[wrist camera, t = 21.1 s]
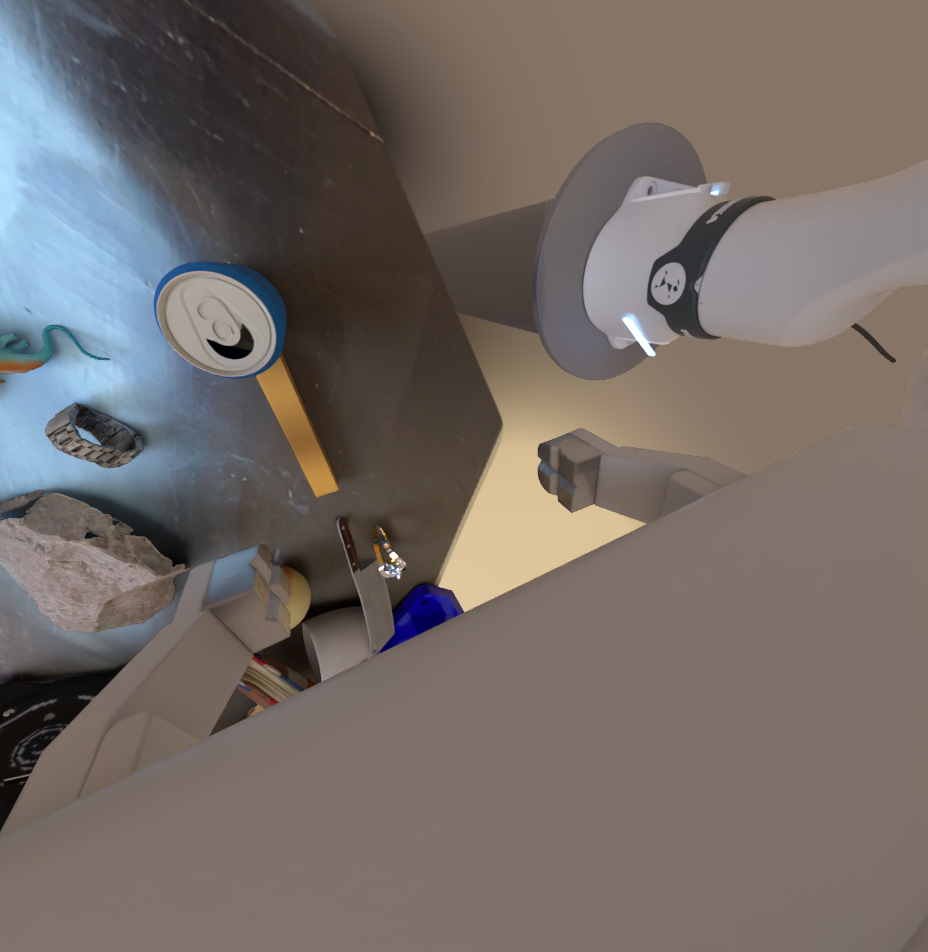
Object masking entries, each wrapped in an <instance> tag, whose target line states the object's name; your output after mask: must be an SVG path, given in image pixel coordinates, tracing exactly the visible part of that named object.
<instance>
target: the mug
mask: <svg viewBox="0 0 928 952" xmlns="http://www.w3.org/2000/svg"><path fill="white" fill-rule="evenodd" d="M302 631H303V638H304V643H305V647H306V651H307V655H308V659H309V662H310V665H311V668H312V671H313V674H314V676H315V679H316V681H317V683H320V682H322V681H324V680H326V679H328V678H331V677H333V676H335V675H337V674H339V673H341V672H343V671H345V670H347V669H349V668H351V667H353V666H355V665H357V664H359V663H361V662H362V661H363V660H364V659H365V660H364V661H366V660H368V659H370V658H372V656H371V655H370V652H369V650H370V641H369V635H368V630H367V625H366V620H365V616H364V611H363V607H362V606H354V607H346V608H341V609H336V610H333V611H329V612H326V613H323V614H320V615H318V616H315V617H312V618H310V619H308V620H306V621H304V622H303V624H302ZM374 649H375V646H374V648H373V650H374Z"/></svg>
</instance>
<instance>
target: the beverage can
mask: <svg viewBox="0 0 928 952" xmlns="http://www.w3.org/2000/svg"><path fill="white" fill-rule="evenodd" d="M154 312H155V318H156V321H157V324H158V327H159V329H160V331H161V333H162V335H163V336H164V338H165V339H166V341H167V342H168V343H169V345H170V346H171V347H172V348H173V349H174V350H175V351H176V353H177V354H179V355H180V356H181V357H182V358H183V359H184V360H186V361H187V362H189V363H190V364H192V365H193V366H195V367H197V368H198V369H200V370H203V371H205V372H207V373H210V374H213V375H216V376H220V377H225V378H248V377H252V376H255V375H258V374H261V373H263V372H264V371H266V370H268V369H269V368H270V367H271V366H272V365H273V364H274V363H275V362H276V361H277V359H278V358H279V356H280V354H281V352H282V349H283V346H284V340H285V332H286V324H287V313H286V308H285V305H284V302H283V300H282V298H281V296H280V294H279V293H278V291H277V290H276V288H275V287H274V286H273V285H272V284H271V283H270V282H269V281H268V280H267V279H266V278H265V277H263V276H262V275H261V274H259V273H257V272H256V271H254V270H252V269H250V268H247V267H244V266H240V265H235V264H225V263H213V262H193V263H187V264H184V265H181V266H179V267H176V268H174V269H173V270H171V271H170V272H169V273H167V274H166V275H165V276H164V278H163V279H162V280H161V282H160V283H159V285H158V287H157V290H156V292H155V298H154Z"/></svg>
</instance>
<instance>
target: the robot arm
mask: <svg viewBox="0 0 928 952" xmlns="http://www.w3.org/2000/svg"><path fill="white" fill-rule="evenodd" d="M729 188H730V183H729V182H718V183H712V184H702V185H699V186H698V187H693V186H689V185H684V184H680V183H676V182H672V181H667V180H663V179H659V178H654V177H650V176H641V177H638V178H636V179H635V180H634V182H633V183H632V185H631V186H630V188H629V190H628V192H627V194H626V196H625V198H624V201H623V203H622V205H621V206H620V208H619V209H618V210H617V211H616V213H615V214H614V215H613V216H612V217H611V218H610V219H609V220H608V221H607V223H606V224H605V225H604V227H603V228H602V230H601V231H600V233H599V234H598V236H597V238H596V240H595V242H594V244H593V246H592V249H591V251H590V254H589V257H588V260H587V264H586V268H585V273H584V281H583V298H584V305H585V309H586V312H587V314H588V317H589V319H590V320H591V322H592V323H593V324H594V326H595V327H596V328H598V329H599V330H601V331H602V332H604V333H605V334H606V335H607V337H608V340H609V342H610V344H611V346H612V347H613V348H615V349H623V348H625V347H627V346H629V345H631V344H633V343H635V342H636V341H637V342H639V343H640V344H641V346H642V347H643V349H644V350H645V351H646V353H647V354H648V355H651V356H654V355H655V353H654V351H653V350H652V349H651V347H650V346H649V344H648V343H653V344H661V345H664V344H668V343H669V342H670V341H673V340H674V339H677V338H678V337H680V336H681V335H683V336H687V337H690V338H694V339H719V338H722V337H725V338H731V339H738V340H744V341H750V342H757V343H763V344H770V345H776V346H783V347H799V346H805V345H809V344H814V343H817V342H821V341H824V340H826V339H829V338H831V337H833V336H835V335H837V334H839V333H841V332H843V331H845V330H846V329H848V328H849V327H852V328H854V329H855V330H856V331H858V332H859V333H860V334H862V335H863V336H864V337H865V338H866V339H867V340H868V341H869V342H870V343H871V344H872V345H873V346H874V347H875V348H876V349H877V350H878V351H879V352H880V353H881V354H882V355H883V356H884V357H885V358H887V359H888V360H889V361H891V362H892V363H893V362H896V359H894V358H893V357H892V356H891V355H889V354H888V353H887V352H886V351H885V350H884V349H883V348H882V347H881V346H880V345H879V343H878V342H877V341H876V340H875V339H874V338H873V337H872V336H871V335H870V334H869V333H868V332H867V331H866V330H864V329H863V328H862V327H860V326H859V325H857V324H856V322H857V321H859V320H860V319H861V318H863V317H864V316H865V315H867V314H868V313H869V312H870V311H872V310H873V309H874V308H875V307H876V306H877V305H879V304H880V303H881V302H882V301H883V300H884V299H885V298H887V297H888V296H889V295H890V294H891V293H892V292H893V291H894V290H895V289H896V288H901V287H906V286H914V285H928V160H926V161H924V162H921V163H919V164H917V165H915V166H912V167H909V168H907V169H905V170H902V171H899V172H897V173H894V174H891V175H888V176H885V177H882V178H879V179H876V180H872V181H868V182H864V183H860V184H856V185H852V186H847V187H843V188H839V189H834V190H829V191H824V192H819V193H814V194H809V195H804V196H798V197H792V198H785V199H779V200H776V199H774V198H772V197H769V196H760V197H757V196H747V197H741V198H737V199H734V200H728V199H726V197H727V194H728V191H729ZM538 457H539V458H540V459H541V460H542V461H541V462H540V464H539V466H538V477H539V480H540V483H541V485H542V486H543V488H544V489H545V490H546V491H547V492H548V493H549V494H553V495H557V496H558V502H560V503H561V504H562V505H563V506H564V507H565V508H567V509H568V510H569V511H570V512H571V513H573V512H575V511H578V510H580V509H583V508H585V507H588V506H590V505H593V504H595V505H596V506H599V507H602V508H605V509H607V510H610V511H613V512H616V513H619V514H621V515H624V516H627V517H630V518H633V519H636V520H639V521H641V522H644V523H647V524H646V525H644V526H642V527H640V528H638V529H636V530H634V531H632V532H630V533H628V534H626V535H624V536H622V537H620V538H617V539H615V540H613V541H611V542H609V543H607V544H605V545H603V546H601V547H599V548H597V549H595V550H593V551H591V552H589V553H587V554H584V555H582V556H580V557H578V558H576V559H574V560H572V561H570V562H568V563H566V564H564V565H562V566H560V567H558V568H555V569H553V570H551V571H549V572H547V573H545V574H543V575H541V576H539V577H537V578H535V579H533V580H531V581H529V582H527V583H525V584H523V585H521V586H518V587H516V588H514V589H512V590H510V591H508V592H506V593H504V594H502V595H500V596H498V597H496V598H494V599H492V600H489V601H487V602H485V603H483V604H481V605H479V606H477V607H475V608H473V609H472V610H469V611H467V612H465V613H463V614H461V615H458V616H456V617H454V618H452V619H450V620H448V621H446V622H444V623H442V624H440V625H438V626H436V627H434V628H432V629H430V630H428V631H425V632H423V633H421V634H419V635H417V636H415V637H413V638H411V639H409V640H407V641H405V642H403V643H401V644H399V645H397V646H395V647H392V648H390V649H388V650H386V651H384V652H382V653H380V654H378V655H376V656H374V657H372V658H370V659H368V660H366V661H364V662H362V663H359V664H357V665H355V666H353V667H351V668H349V669H347V670H345V671H343V672H341V673H339V674H337V675H335V676H333V677H331V678H328V679H326V680H324V681H322V682H320V683H318V684H316V685H314V686H312V687H310V688H308V689H306V690H304V691H302V692H300V693H298V694H295V695H293V696H291V697H289V698H287V699H285V700H283V701H281V702H279V703H277V704H275V705H273V706H271V707H269V708H267V709H265V710H262V711H260V712H258V713H256V714H254V715H252V716H250V717H248V718H246V719H244V720H242V721H240V722H238V723H236V724H234V725H232V726H229V727H227V728H225V729H223V730H221V731H219V732H217V733H215V734H213V735H211V736H210V734H211V732H212V730H213V728H214V726H215V725H216V723H217V721H218V719H219V717H220V716H221V714H222V712H223V710H224V708H225V707H226V705H227V703H228V701H229V699H230V697H231V696H232V694H233V692H234V690H235V688H236V687H237V685H238V683H239V681H240V679H241V678H242V676H243V674H244V672H245V670H246V669H247V667H248V665H249V663H250V661H251V659H252V658H253V654H254V653H256V652H258V651H260V650H262V649H264V648H266V647H269V646H271V645H273V644H275V643H277V642H279V641H281V640H284V639H286V638H288V637H290V618H291V614H290V612H289V611H288V610H287V608H286V606H287V604H288V603H289V601H290V600H291V591H290V586H289V582H288V579H287V577H286V575H285V572H284V571H283V569H282V568H281V566H279V565H276V564H273V563H272V553H271V552H270V551H269V549H268V548H267V547H266V546H265V545H263V544H260V545H257V546H254V547H251V548H248V549H245V550H242V551H239V552H236V553H233V554H230V555H227V556H224V557H222V558H219V559H217V560H213V561H210V562H207V563H205V564H202V565H199V566H196V567H195V568H193V569H192V570H191V571H190V573H189V576H188V579H187V582H186V585H185V587H184V590H183V593H182V596H181V599H180V602H179V605H178V607H177V610H176V613H175V616H174V619H173V622H172V623H171V624H169V625H167V626H164V627H163V628H162V629H161V630H160V631H159V632H158V633H157V634H156V635H155V636H154V637H153V638H152V639H151V640H150V641H149V642H148V644H147V645H146V646H145V647H144V648H143V649H142V650H141V651H140V652H139V653H138V654H137V655H136V656H135V657H134V658H133V659H132V660H131V661H130V662H129V663H128V664H127V665H126V666H125V667H124V668H123V669H122V670H121V671H120V672H119V673H118V674H117V675H116V676H115V677H114V679H113V680H112V681H111V682H110V683H109V684H108V685H107V686H106V687H105V688H104V689H103V690H102V691H101V692H100V693H99V694H98V695H97V696H96V697H95V698H94V699H93V700H92V701H91V702H90V703H89V704H88V705H87V706H86V707H85V708H84V709H83V710H82V711H81V712H80V714H79V715H78V716H77V717H76V718H75V719H74V720H73V721H72V722H71V723H70V724H69V725H68V726H67V727H66V728H65V729H64V730H63V731H62V732H61V733H60V734H59V735H58V736H57V737H56V738H55V739H54V740H53V741H52V742H51V743H50V744H49V745H48V746H47V747H46V748H45V750H44V751H43V752H42V753H41V755H40V757H39V759H38V761H37V763H36V765H35V767H34V769H33V771H32V772H31V774H30V776H29V778H28V780H27V782H26V784H25V786H24V788H23V790H22V792H21V793H20V795H19V797H18V799H17V801H16V803H15V805H14V807H13V809H12V811H11V813H10V814H9V816H8V818H7V820H6V822H5V824H4V826H3V828H2V830H1V832H0V952H928V346H927V348H926V350H925V352H924V354H923V356H922V357H921V359H920V361H919V363H918V365H917V367H916V369H915V370H914V373H913V374H912V376H911V378H910V381H909V386H908V391H907V396H906V401H905V406H904V415H903V423H902V426H892V425H867V424H863V425H862V424H861V425H854V426H850V427H847V428H845V429H842V430H840V431H838V432H836V433H834V434H832V435H830V436H828V437H826V438H824V439H822V440H820V441H817V442H815V443H813V444H811V445H809V446H807V447H805V448H803V449H801V450H799V451H797V452H795V453H793V454H791V455H789V456H787V457H785V458H783V459H780V460H779V461H776V462H774V463H772V464H770V465H768V466H766V467H764V468H762V469H760V470H758V471H756V472H754V473H752V474H750V475H745V474H743V473H740V472H738V471H736V470H734V469H732V468H729V467H727V466H725V465H723V464H721V463H719V462H716V461H714V460H712V459H710V458H707V457H699V456H692V455H684V454H677V453H670V452H663V451H655V450H647V449H639V448H633V447H625V446H622V447H619V448H618V447H616V446H615V445H613V444H611V443H609V442H607V441H605V440H603V439H602V438H600V437H598V436H596V435H594V434H592V433H591V432H589V431H587V430H585V429H577V430H574V431H572V432H569V433H567V434H565V435H562V436H560V437H557V438H555V439H552V440H549V441H547V442H544V443H541V444H539V447H538Z"/></svg>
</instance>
